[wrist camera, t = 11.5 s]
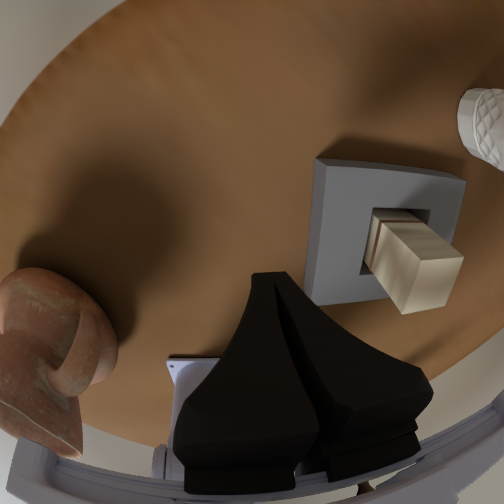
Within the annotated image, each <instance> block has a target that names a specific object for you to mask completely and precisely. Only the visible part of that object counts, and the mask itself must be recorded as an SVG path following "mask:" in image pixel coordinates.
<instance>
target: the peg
mask: <svg viewBox="0 0 504 504" xmlns="http://www.w3.org/2000/svg"><path fill="white" fill-rule="evenodd" d="M463 259H464V256H463V255H462V254H460V253H459V252H458V251H457V250H456V249H455V248H454V247H452V246H451V245H450V244H449V243H448V242H446V241H445V240H444V239H443V238H442V237H440V236H439V235H438V234H437V233H436V232H434V231H433V230H432V229H431V228H429V227H428V226H427V225H425V224H424V222H423V221H422V220H419V219H418V218H416V217H415V216H414V215H412V214H411V213H410V212H408V211H407V210H406V209H396V208H373V209H372V215H371V221H370V226H369V231H368V237H367V242H366V247H365V251H364V256H363V260H364V262H365V263H366V264H367V266H368V267H369V270H370V271H372V273H373V274H374V275H375V277H376V278H377V279H378V281H379V282H380V284H381V285H382V286H383V288H384V289H385V291H386V292H387V293H388V295H389V296H390V298H391V299H392V301H393V302H394V303H395V305H396V306H397V308H398V309H399V311H400V312H401V314H408V313H413V312H418V311H423V310H428V309H433V308H438V307H442V306H445V304H446V301H447V299H448V297H449V295H450V292H451V290H452V288H453V285H454V283H455V280H456V278H457V275H458V273H459V270H460V267H461V265H462V262H463Z"/></svg>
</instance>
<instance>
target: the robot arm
mask: <svg viewBox="0 0 504 504" xmlns="http://www.w3.org/2000/svg"><path fill="white" fill-rule="evenodd" d="M166 364H167V366H168V369H169V372H170V375H171V377H172V380H173V382H174V385H175V388H174V397H173V407H172V417H171V428H170V436H169V437H168V448H166V445H165V444H160V445H159V446H158V447H156V448H155V449H154V454H153V462H152V473H151V478H148V477H141V476H136V475H130V474H124V473H119V472H115V471H110V470H106V469H101V468H97V467H94V466H90V465H86V464H83V463H79V462H76V461H73V460H70V459H67V458H64V457H61V456H58V455H57V454H56V453H55V452H54V451H52V450H51V449H49V448H48V447H46V446H44V445H42V444H40V443H37V442H35V441H33V440H30V439H28V438H25V437H23V436H19V438H18V442H17V445H16V449H15V452H14V456H13V459H12V463H11V467H10V472H9V476H8V481H7V486H6V490H7V492H9V493H10V494H12V495H14V496H15V497H17V498H19V499H21V500H22V501H24V502H26V503H27V504H263V502H265V501H275V500H283V499H291V498H298V497H303V496H309V495H315V494H320V493H324V492H329V491H333V490H337V489H341V488H345V487H348V486H352V485H356V484H359V483H363V482H366V481H369V480H372V479H375V478H378V477H381V476H384V475H386V474H389V473H392V472H394V471H397V470H400V469H402V468H404V467H407V466H409V465H412V464H414V463H416V462H417V463H416V464H414V465H412V466H410V467H408V468H406V469H404V470H402V471H400V472H398V473H397V474H396V475H395V476H393V477H392V478H390V479H389V480H387V481H385V482H383V483H381V484H379V485H377V486H376V488H375V489H376V490H373V491H370V492H367V493H364V494H361V495H357V496H354V497H351V498H347V499H343V500H339V501H336V502H332V503H328V504H456V503H457V502H458V500H459V499H458V496H457V494H458V493H460V492H461V491H462V490H464V489H465V488H466V487H468V486H469V485H470V484H472V483H473V482H474V481H476V480H477V479H478V478H479V477H481V476H482V475H483V474H484V473H485V472H487V471H488V470H489V469H490V468H491V467H492V466H493V465H495V464H496V463H497V462H498V461H499V460H500V459H501V458H502V457H503V456H504V390H503V391H502V392H501V393H499V395H497V397H496V398H495V399H494V400H493V401H492V403H490V404H489V405H487V406H486V407H484V408H483V409H481V410H479V411H478V412H476V413H474V414H473V415H471V416H469V417H467V418H466V419H464V420H462V421H460V422H458V423H457V424H455V425H453V426H451V427H449V428H447V429H445V430H443V431H441V432H439V433H437V434H435V435H433V436H431V437H429V438H426V439H424V440H422V441H418V439H417V436H416V434H415V431H416V430H417V429H418V426H417V423H416V421H415V419H416V418H417V417H418V416H419V414H420V413H421V412H422V411H423V410H424V409H425V408H426V407H427V405H428V404H429V402H430V401H431V400H432V397H433V394H434V392H433V389H432V387H431V385H430V384H429V382H428V380H427V378H426V376H425V374H424V373H423V371H422V370H421V368H419V367H416V366H414V365H411V364H409V363H406V362H403V361H401V360H398V359H396V358H394V357H391V356H389V355H387V354H385V353H383V352H381V351H379V350H377V349H375V348H374V347H372V346H370V345H368V344H367V343H365V342H363V341H362V340H360V339H358V338H357V337H355V336H354V335H352V334H351V333H349V332H348V331H346V330H345V329H344V328H342V327H341V326H340V325H338V324H337V323H336V322H334V321H333V320H332V319H331V318H330V317H328V316H327V315H326V314H325V313H324V312H323V311H322V310H321V309H320V308H319V307H318V306H317V305H316V304H315V303H314V302H313V301H312V300H311V299H310V298H309V297H308V296H307V295H306V294H305V293H304V292H303V291H302V290H301V289H300V287H299V286H298V285H297V284H296V283H295V282H294V281H293V279H292V278H291V277H290V276H289V275H288V274H287V273H286V272H285V271H284V272H264V273H254V274H253V275H251V291H250V295H249V299H248V302H247V305H246V308H245V311H244V313H243V316H242V319H241V321H240V323H239V326H238V328H237V330H236V332H235V334H234V336H233V338H232V339H231V341H230V343H229V345H228V346H227V348H226V350H225V351H224V353H223V354H222V356H221V357H220V358H168V359H167V361H166ZM294 471H295V477H294Z"/></svg>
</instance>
